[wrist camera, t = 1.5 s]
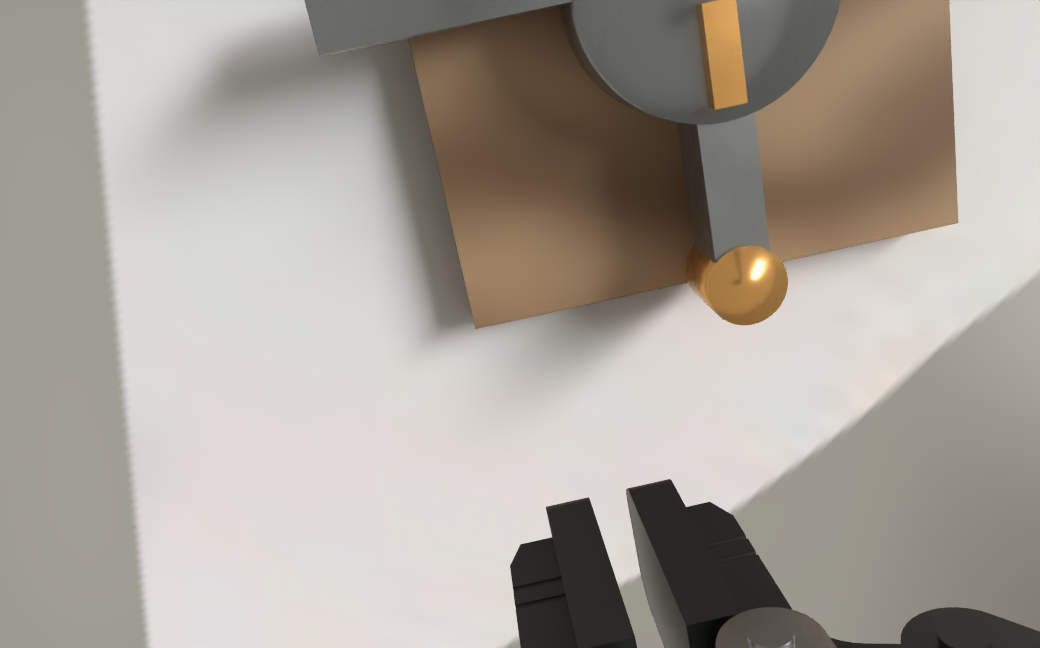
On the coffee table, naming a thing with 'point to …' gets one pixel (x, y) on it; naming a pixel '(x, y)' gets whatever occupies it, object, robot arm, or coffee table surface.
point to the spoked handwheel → (660, 100)
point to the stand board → (674, 156)
